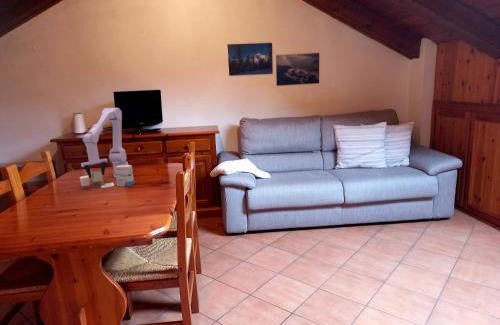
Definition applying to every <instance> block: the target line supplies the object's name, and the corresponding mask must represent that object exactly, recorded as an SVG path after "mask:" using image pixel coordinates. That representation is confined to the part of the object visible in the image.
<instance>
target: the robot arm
mask: <svg viewBox="0 0 500 325" xmlns="http://www.w3.org/2000/svg"><path fill="white" fill-rule="evenodd" d="M122 112H123V111H122V110H121V109H120V108H119V107H104V108H103V109H102V111H101V116H100V118H99V120H98V121H97V122H96V123H95V124H93V125H92V127H91V128H90V129H89V131H88V132H87V133H85V134H84V135H83V136H82V141H83V144H84V145H85V147H86V152H87V157H88V159H87V160H88V161H86V162H81V163H80V165H81V167H82V168H83V169H84V170H85V172H86V174H87V176H88V177H89V179H92V178H91V173H92V172H91V166H93V165H100V172H101V174H102V176H104V175H105V171H106V167H107V163H108V160H109V161H110V162H111V164H112V168H113V177H114V178H115V179H116V172H115V167H116V166H118V165H129V163H128V161H127V157H128V156H127V154H126V149H124V148H123V145H122V143H123V142H122V139H123V136H122V131H123V130H122V128H123V127H122V121H123V119H122V118H123V115H122V114H123V113H122ZM108 121H110V122H111V123H112V148H110V150H109V153H108V154H109V155H108V159H107V158H100V155H99V150H98V142H99V137H100V135H101V133H102V132H103V131H104V128H103V127H104V125H106V123H107V122H108Z"/></svg>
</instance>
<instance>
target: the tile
mask: <svg viewBox="0 0 500 325" xmlns="http://www.w3.org/2000/svg"><path fill="white" fill-rule="evenodd" d="M104 184H105V185H103V186H101V187H100V188H101V189H107V188H111V187H112V188H113V187H115V184H114V182H107V183H104Z"/></svg>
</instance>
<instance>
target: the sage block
mask: <svg viewBox="0 0 500 325" xmlns="http://www.w3.org/2000/svg"><path fill="white" fill-rule="evenodd" d="M90 173H91V178H90V179H91V180H92V181H93V182H98V181H102V179H103V175H102V172H101V171H99V170H98V171H93V172H90Z"/></svg>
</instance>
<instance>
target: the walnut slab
mask: <svg viewBox="0 0 500 325" xmlns="http://www.w3.org/2000/svg"><path fill="white" fill-rule="evenodd" d="M90 184H91V188H92V189H94V188H101V186H103V185H105V184H106V183H105V179H104V178H103V177H102V181H98V182H93V181H92V179H91V181H90Z"/></svg>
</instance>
